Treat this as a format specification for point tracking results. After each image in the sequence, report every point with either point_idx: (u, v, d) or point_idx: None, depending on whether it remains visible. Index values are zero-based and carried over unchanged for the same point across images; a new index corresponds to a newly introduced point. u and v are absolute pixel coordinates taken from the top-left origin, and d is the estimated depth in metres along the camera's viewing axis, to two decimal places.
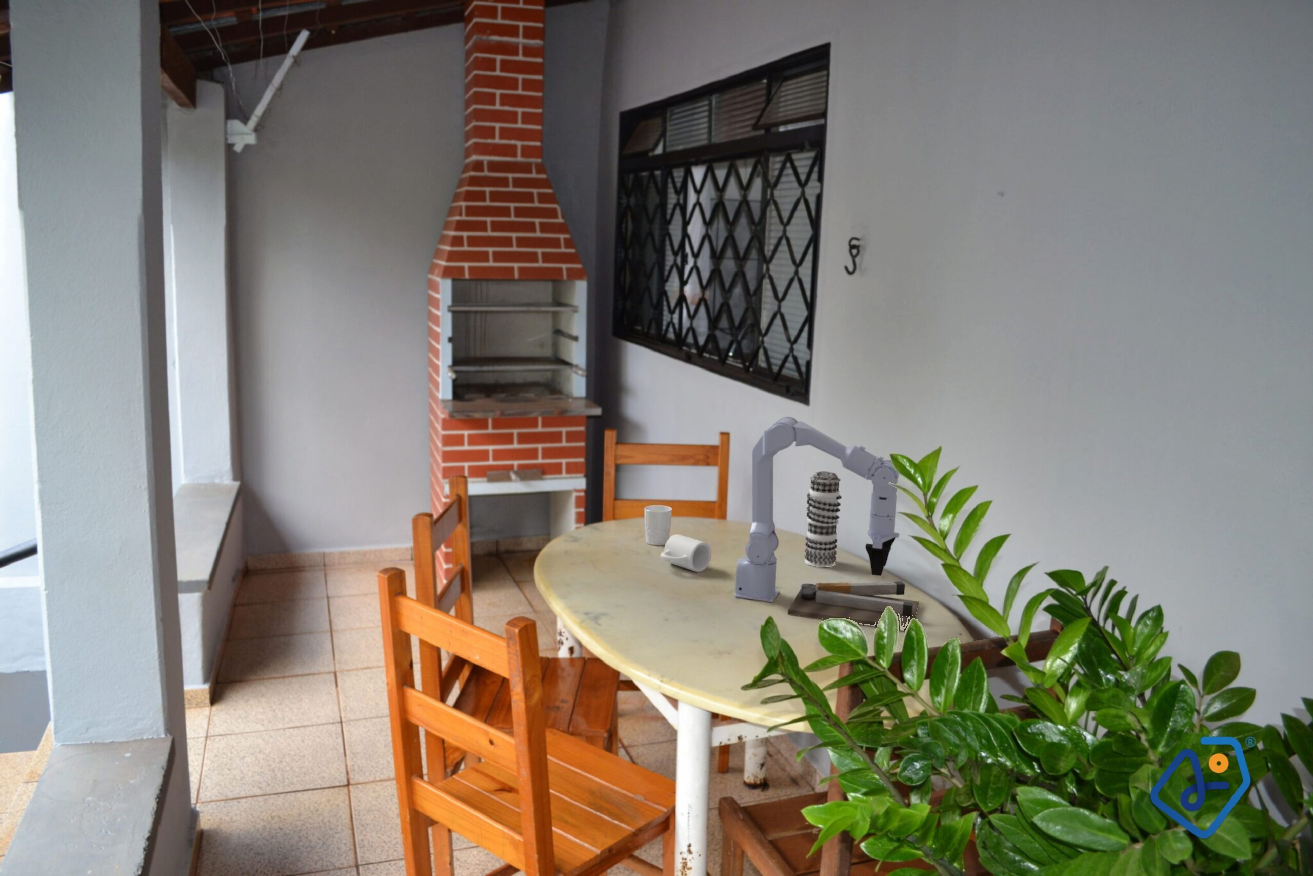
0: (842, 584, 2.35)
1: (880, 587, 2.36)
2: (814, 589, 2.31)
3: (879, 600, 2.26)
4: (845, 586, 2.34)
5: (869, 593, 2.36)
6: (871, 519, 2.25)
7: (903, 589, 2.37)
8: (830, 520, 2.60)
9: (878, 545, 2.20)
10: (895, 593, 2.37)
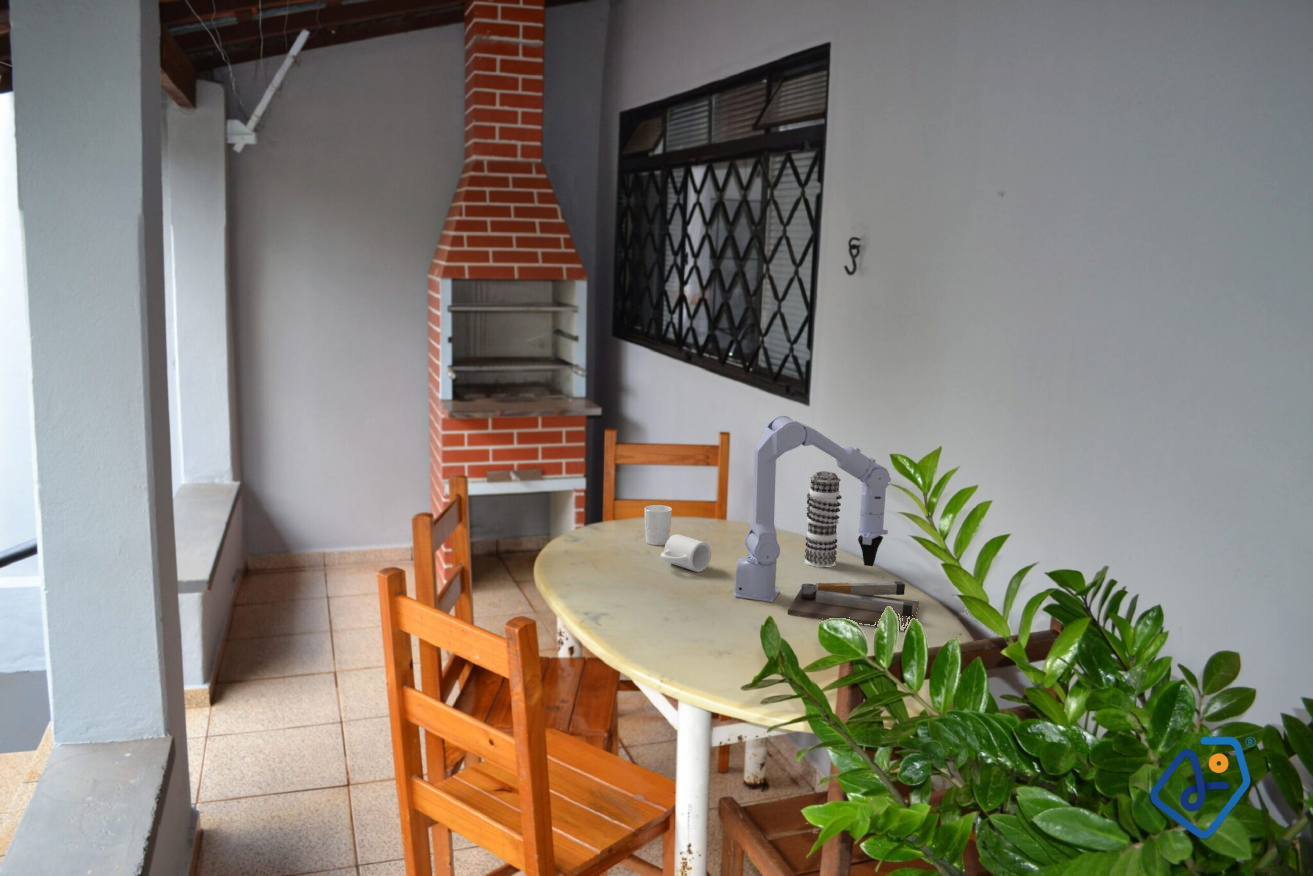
0: (842, 584, 2.35)
1: (880, 587, 2.36)
2: (814, 589, 2.31)
3: (879, 600, 2.26)
4: (845, 586, 2.34)
5: (869, 593, 2.36)
6: (861, 517, 2.39)
7: (903, 589, 2.37)
8: (830, 520, 2.60)
9: (868, 541, 2.33)
10: (895, 593, 2.37)
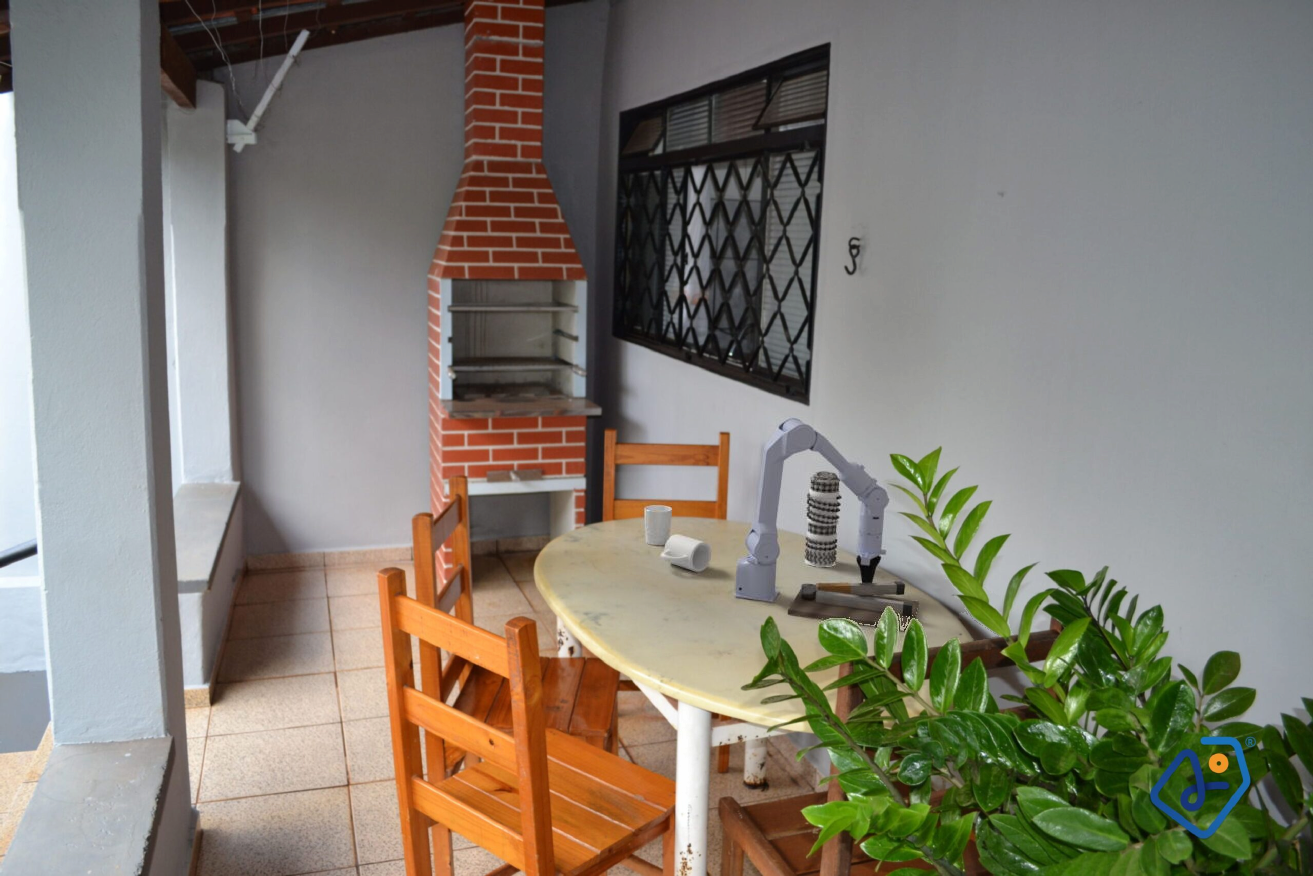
0: (842, 584, 2.35)
1: (880, 587, 2.36)
2: (814, 589, 2.31)
3: (879, 600, 2.26)
4: (845, 586, 2.34)
5: (869, 593, 2.36)
6: (859, 537, 2.39)
7: (903, 589, 2.37)
8: (830, 520, 2.60)
9: (866, 562, 2.34)
10: (895, 593, 2.37)
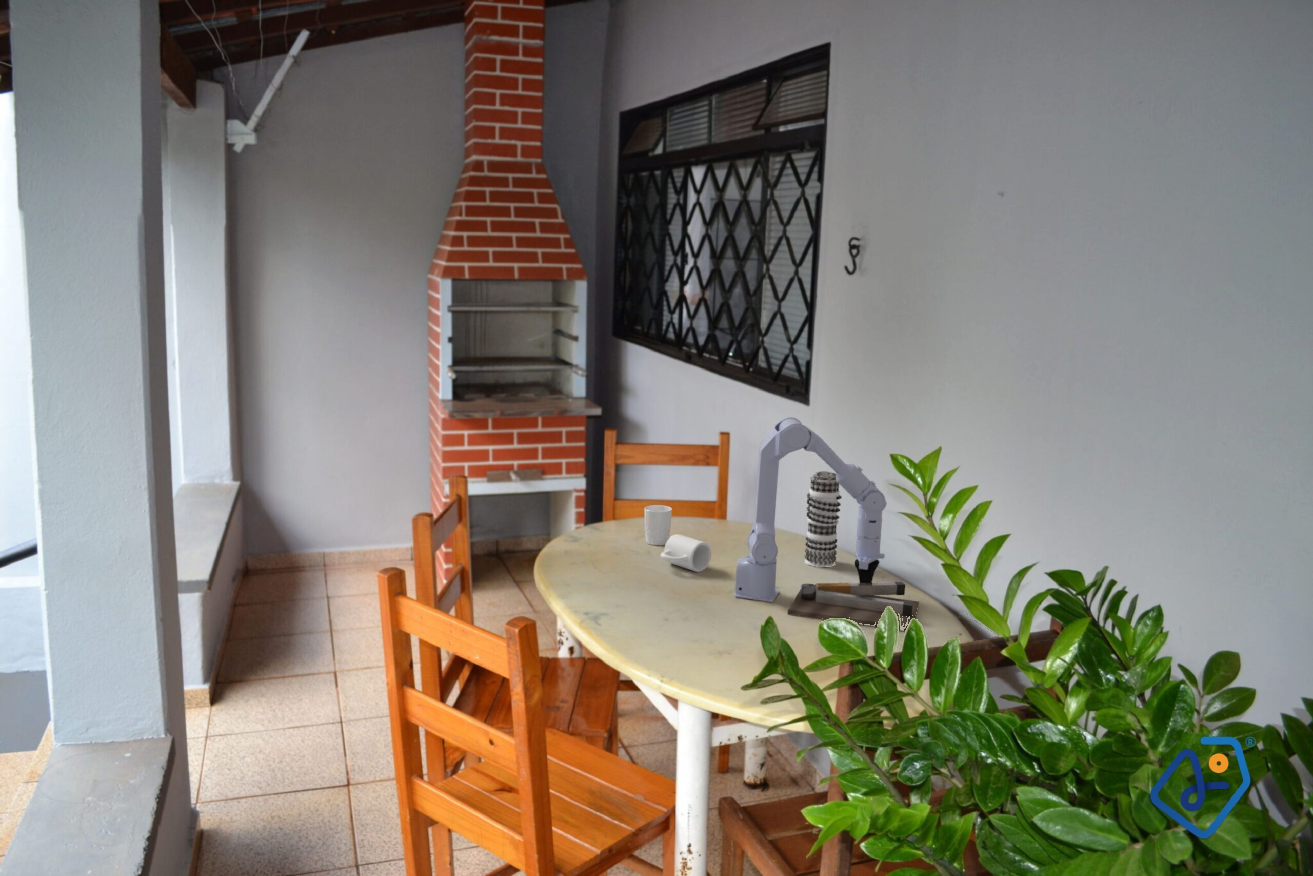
0: (842, 584, 2.35)
1: (881, 587, 2.36)
2: (814, 589, 2.31)
3: (879, 600, 2.26)
4: (845, 586, 2.34)
5: (869, 593, 2.36)
6: (858, 541, 2.36)
7: (903, 589, 2.37)
8: (830, 520, 2.60)
9: (864, 566, 2.30)
10: (895, 593, 2.37)
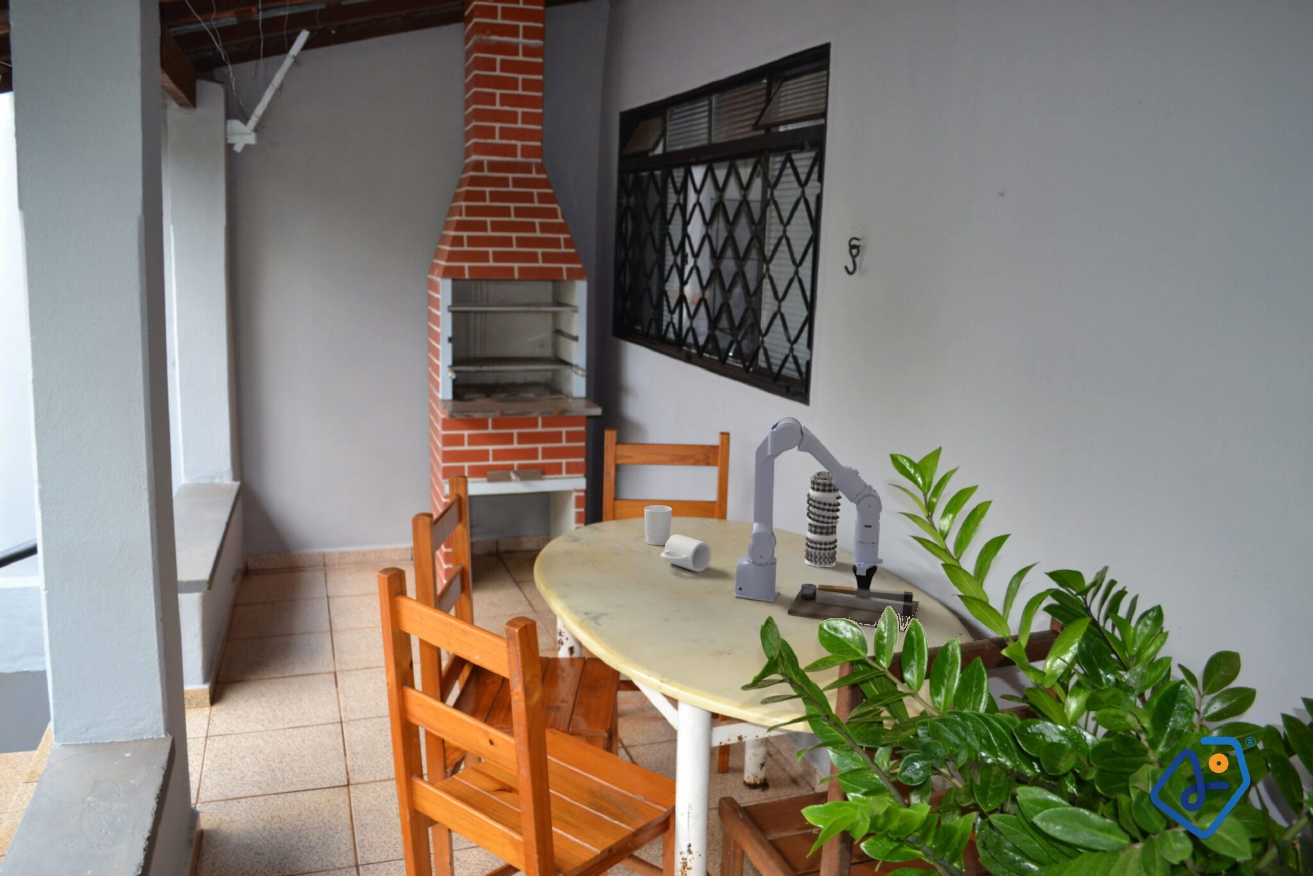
0: (845, 588, 2.32)
1: (886, 595, 2.30)
2: (812, 589, 2.31)
3: (879, 600, 2.26)
4: (847, 590, 2.31)
5: None
6: (855, 546, 2.31)
7: (911, 600, 2.29)
8: (830, 520, 2.60)
9: (862, 572, 2.26)
10: None
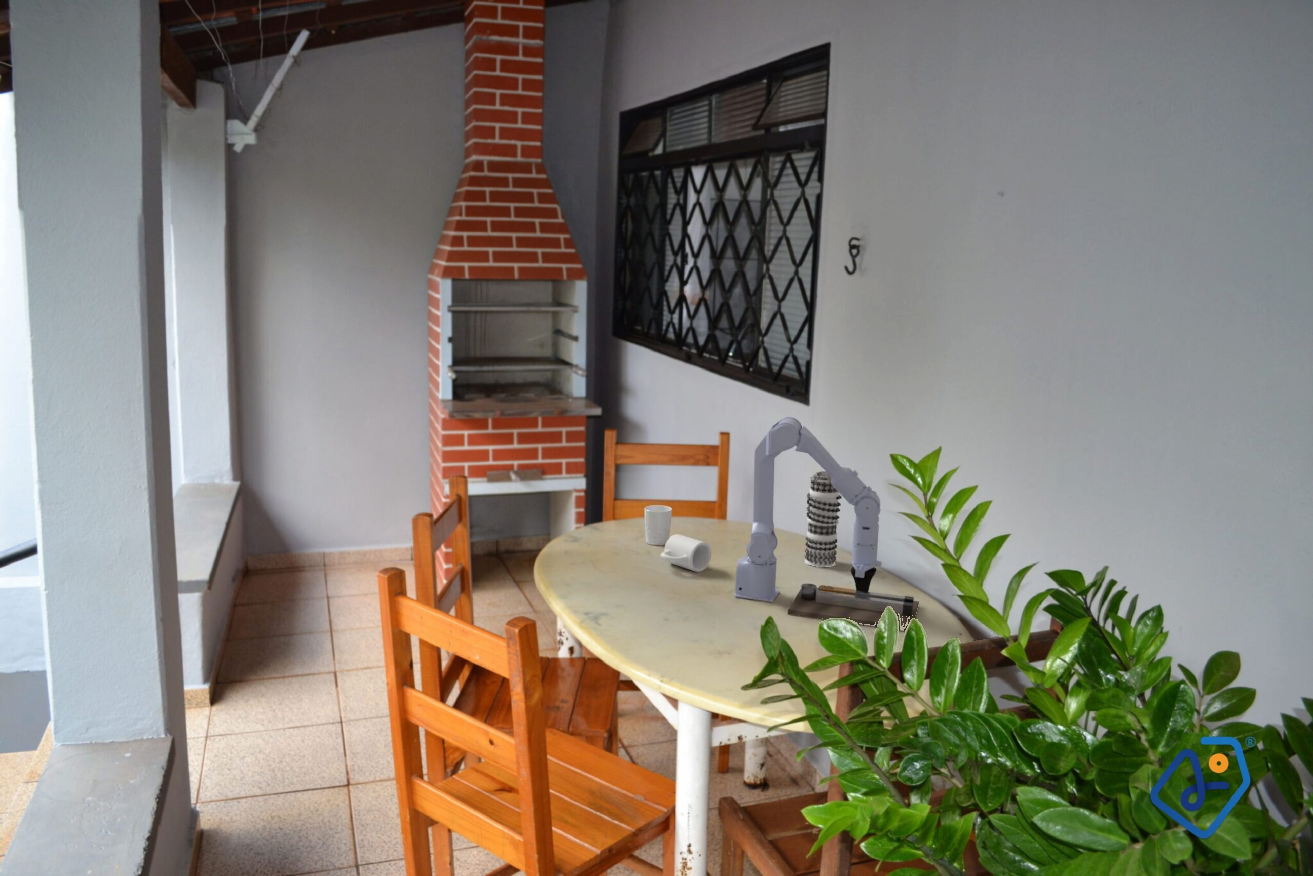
0: (846, 590, 2.31)
1: (886, 598, 2.28)
2: (811, 589, 2.31)
3: (879, 600, 2.26)
4: (847, 592, 2.30)
5: None
6: (854, 548, 2.29)
7: None
8: (830, 520, 2.60)
9: (860, 574, 2.24)
10: None
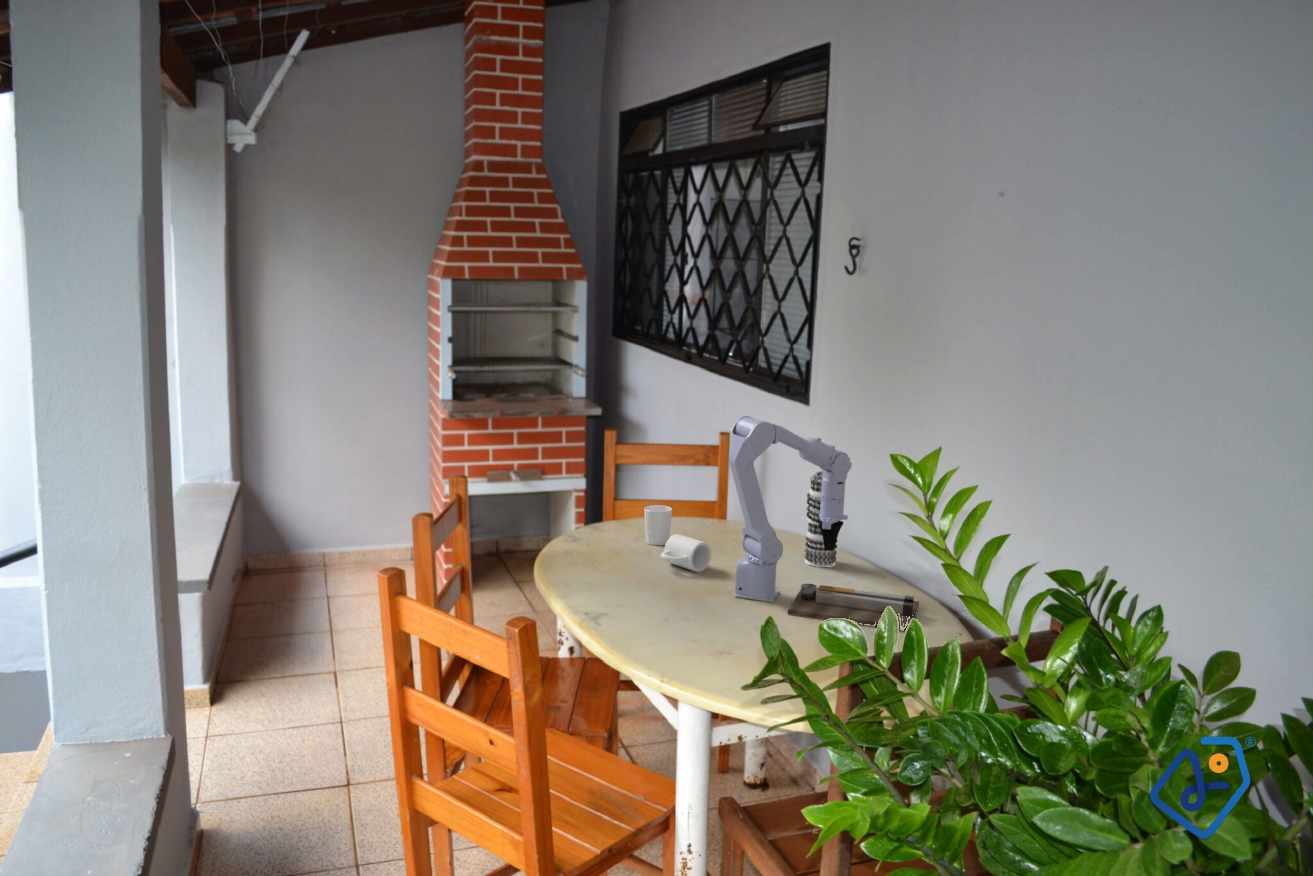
0: (846, 590, 2.31)
1: (886, 598, 2.28)
2: (811, 589, 2.31)
3: (879, 600, 2.26)
4: (847, 592, 2.30)
5: None
6: (822, 502, 2.42)
7: None
8: None
9: (827, 526, 2.37)
10: None
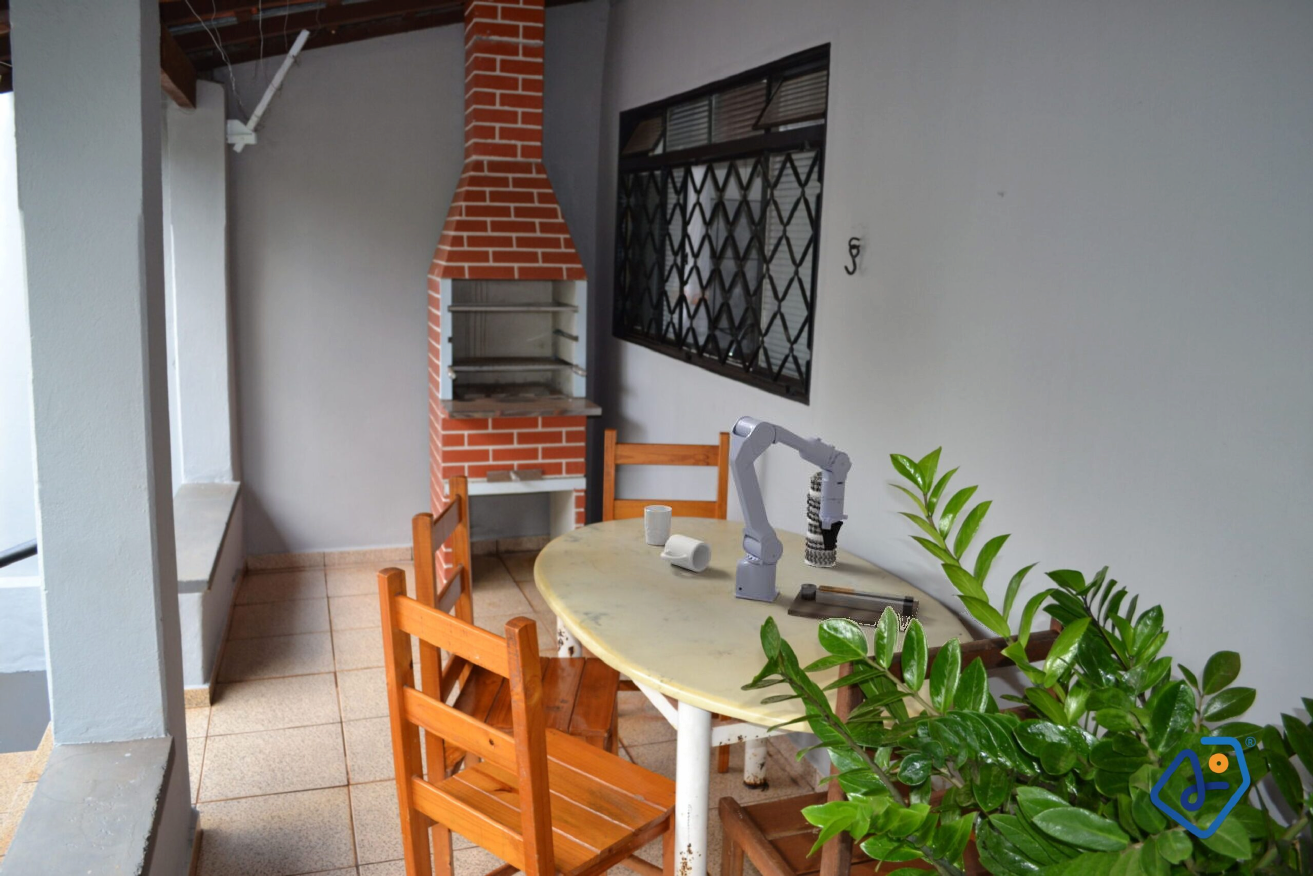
0: (846, 590, 2.31)
1: (886, 598, 2.28)
2: (811, 589, 2.31)
3: (879, 600, 2.26)
4: (847, 592, 2.30)
5: None
6: (821, 502, 2.42)
7: None
8: None
9: (827, 526, 2.37)
10: None
